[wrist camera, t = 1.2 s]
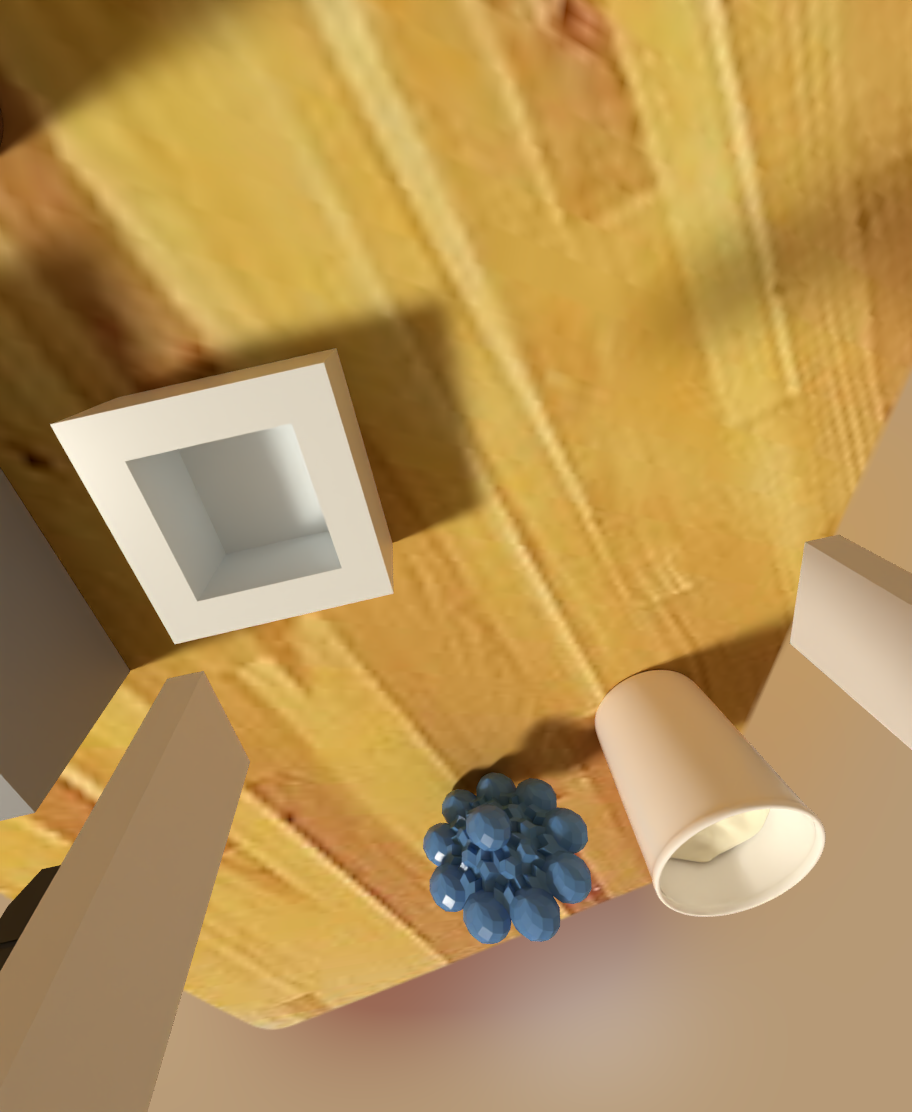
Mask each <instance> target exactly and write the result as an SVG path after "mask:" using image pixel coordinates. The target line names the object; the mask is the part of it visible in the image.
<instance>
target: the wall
mask: <svg viewBox="0 0 912 1112" xmlns="http://www.w3.org/2000/svg"><path fill="white" fill-rule="evenodd" d="M129 672H130V670H129V668H128V667H127V665H126V664H125V662H124V661H123V659H122V657H121V656H120V654H119V653H118V651H117V650H116V648H115V646H114V645H113V643H112V642H111V640H110V639H109V637H108V636H107V634H106V632H105V631H104V629H103V628H102V626H101V625H100V623H99V621H98V620H97V618H96V617H95V615H94V614H93V612H92V610H91V609H90V607H89V606H88V604H87V603H86V601H85V600H84V598H83V596H82V595H81V593H80V592H79V590H78V589H77V587H76V585H75V584H74V582H73V581H72V579H71V578H70V576H69V574H68V573H67V571H66V570H65V568H64V567H63V565H62V564H61V562H60V560H59V559H58V557H57V556H56V554H55V553H54V551H53V549H52V548H51V546H50V545H49V543H48V542H47V540H46V538H45V537H44V535H43V534H42V532H41V531H40V529H39V528H38V526H37V524H36V523H35V521H34V520H33V518H32V517H31V515H30V513H29V512H28V510H27V509H26V507H25V506H24V504H23V502H22V501H21V499H20V498H19V496H18V495H17V493H16V492H15V490H14V488H13V487H12V485H11V484H10V482H9V481H8V479H7V477H6V476H5V474H4V473H3V471H2V470H1V468H0V821H1V820H6V819H10V818H14V817H18V816H23V815H27V814H31V813H35V812H36V810H37V809H38V807H39V806H40V804H41V803H42V801H43V800H44V798H45V797H46V795H47V794H48V793H49V791H50V790H51V788H52V787H53V785H54V784H55V782H56V781H57V779H58V778H59V776H60V775H61V773H62V772H63V770H64V769H65V767H66V766H67V764H68V763H69V761H70V760H71V758H72V757H73V755H74V754H75V752H76V751H77V749H78V748H79V746H80V745H81V743H82V742H83V740H84V739H85V738H86V736H87V735H88V733H89V732H90V730H91V729H92V727H93V726H94V724H95V723H96V721H97V720H98V718H99V717H100V715H101V714H102V712H103V711H104V709H105V708H106V706H107V705H108V703H109V702H110V700H111V699H112V697H113V696H114V694H115V693H116V691H117V690H118V688H119V687H120V685H121V684H122V683H123V681H124V680H125V678H126V677H127V675H128V674H129Z"/></svg>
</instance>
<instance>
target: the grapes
mask: <svg viewBox="0 0 912 1112" xmlns="http://www.w3.org/2000/svg"><path fill="white" fill-rule="evenodd" d="M476 789H477V796H476V795H474V794H473V793H471V792H469V791H468V790H462V789H457V790H454V791H452V792H450V793H449V794H447V796H446V798H445V800H444V802H443V804H442V814H443V816H444V818H445V820H446V822H448V823H438V824H436V825H434V826H432V827H430V828H429V830H428V832H427V833H426V835H425V837H424V845H423V849H424V851H425V853H426V855H427V857H428V859H429V860H430V861H432V862H433V863H434V864H436V865H437V866H438V867H436V869H435V871H434V873H433V875H432V877H431V879H430V892H431V895H432V897H433V899H434V901H435V903H436V904H437V905H438V906H440V907H441V908H442V909H444V910H445V911H449V912H457V911H460V910H462V909H463V920H464V923H465V925H466V927H467V929H468V931H469V932H470V934H471V935H472V936H473V937H474V938H476V939H477V940H478V941H480V942H481V943H486V944H494V943H498V942H500V941H501V940H503V939H504V938H505V937H506V936H507V934H508V932H509V930H510V927H511V920H512V922H513V924H514V926H515V928H516V929H517V930H518V931H519V932H520V933H521V934H522V935H524V936H525V937H526V938H528V939H529V940H530V941H540V942H542V941H546V940H549V939H550V938H552V937H553V936H554V935H555V934H556V932H557V931H558V929H559V927H560V909H559V906H558V904H557V902H556V900H555V899H554V897H555V898H557V899H558V900H560V901H561V902H563V903H570V904H574V903H578V902H581V901H582V900H584V899H585V898H586V897H587V896H588V894H589V892H590V891H591V876H590V870H589V869H588V867H587V866H586V864H585V862H584V861H583V860H582V859H580V858H579V857H577V856H576V855H574V853H577V852H579V851H580V850H582V849H583V848H584V846H585V845H586V843H587V841H588V837H587V826H586V824H585V822H584V821H583V819H582V818H581V816H580V815H578V814H576V813H575V812H573V811H572V810H569V809H566V808H556V807H557V802H556V793H555V792H554V790H553V789H552V787H551V785H549V784H547V783H546V782H544V781H542V780H539V779H532V778H529V779H527V780H524V781H523V782H521V783H519V784H518V786H517V788H516V787H515V785H514V783H513V782H512V780H511V779H510V778H508V777H507V776H505V775H504V774H501V773H494V772H491V773H489V774H486V775H484V776H483V777H481V779H480V781H479V783H478V785H477V787H476ZM553 896H554V897H553Z"/></svg>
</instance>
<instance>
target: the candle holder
mask: <svg viewBox="0 0 912 1112" xmlns="http://www.w3.org/2000/svg"><path fill="white" fill-rule="evenodd" d="M595 730H596V734H597V737H598V740H599V743H600V745H601V748H602V751H603V753H604V756H605V759H606V761H607V764H608V767H609V769H610V772H611V774H612V777H613V780H614V782H615V785H616V787H617V790H618V792H619V795H620V798H621V800H622V803H623V805H624V808H625V810H626V813H627V816H628V818H629V821H630V823H631V826H632V829H633V831H634V834H635V836H636V839H637V841H638V844H639V847H640V849H641V852H642V854H643V857H644V859H645V862H646V865H647V867H648V870H649V873H650V875H651V878H652V881H653V886H654V889H655V891H656V894H657V895H658V897H659V899H660V900H661V901H662V902H663V903H664V904H665V905H666V906H668V907H669V908H670V909H672V910H675V911H676V912H679V913H682V914H686V915H691V916H700V917H711V916H721V915H728V914H732V913H737V912H741V911H744V910H748V909H751V908H753V907H756V906H759V905H761V904H763V903H766V902H768V901H770V900H772V899H774V898H776V897H777V896H779V895H781V894H782V893H784V892H786V891H787V890H789V889H790V888H791V887H793V886H794V885H795V884H797V883H798V882H799V881H800V880H802V879H803V878H804V877H805V876H806V875H807V874H808V873H809V872H810V871H811V869H812V868H813V867H814V866H815V864H816V863H817V861H818V860H819V858H820V856H821V854H822V852H823V849H824V846H825V830H824V827H823V824H822V822H821V821H820V819H819V818H818V817H817V815H816V814H815V813H814V812H813V811H812V810H810V809H809V808H808V807H807V806H806V805H805V804H804V803H803V802H802V801H801V800H800V799H799V797H798V796H797V795H796V794H795V793H794V792H793V791H792V790H791V789H790V788H789V786H788V785H787V784H786V783H785V782H784V781H783V780H782V779H781V777H780V776H779V775H778V774H777V773H776V772H775V771H774V770H773V769H772V768H771V766H770V765H769V764H768V763H767V762H766V761H765V760H764V758H763V757H762V756H761V755H760V754H759V753H758V752H757V751H756V750H755V749H754V747H753V746H752V745H751V744H750V743H749V742H748V741H747V740H746V738H745V737H744V736H743V735H742V734H741V733H740V732H739V731H738V729H737V728H736V727H735V726H734V725H733V724H732V723H731V722H730V721H729V719H728V718H727V717H726V716H725V715H724V714H723V713H722V712H721V711H720V709H719V708H718V707H717V706H716V705H715V704H714V703H713V702H712V701H711V699H710V698H709V697H708V696H707V695H706V694H705V693H704V692H703V691H702V690H701V689H700V688H699V687H698V686H697V685H696V684H695V683H694V682H693V681H692V680H691V679H690V678H688V677H687V676H685V675H683V674H681V673H678V672H675V671H670V670H652V671H646V672H642V673H639V674H636V675H634V676H631V677H629V678H627V679H625V680H624V681H622V682H621V683H619V684H618V685H616V686H615V687H614V688H613V689H612V690H610V691H609V692H608V694H607V695H606V696H605V697H604V698H603V700H602V701H601V703H600V705H599V707H598V709H597V712H596V716H595Z"/></svg>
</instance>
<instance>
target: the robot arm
mask: <svg viewBox="0 0 912 1112" xmlns="http://www.w3.org/2000/svg"><path fill="white" fill-rule="evenodd" d="M790 644H791V645H792V646H793V647H794V648H796V649H797V650H798V651H799V652H800V653H801V654H802V655H804V656H805V657H806V658H807V659H808V660H809V661H810V662H812V663H813V664H814V665H815V666H816V667H817V668H818V669H820V670H821V671H822V672H823V673H824V674H826V675H827V676H828V677H829V678H830V679H831V680H832V681H833V682H835V683H836V684H837V685H838V686H839V687H840V688H842V689H843V690H844V691H845V692H846V693H847V694H848V695H849V696H851V697H852V698H853V699H854V700H855V701H856V702H857V703H859V704H860V705H861V706H862V707H863V708H864V709H866V710H867V711H868V712H869V713H870V714H871V715H872V716H874V717H875V718H876V719H877V720H878V721H879V722H880V723H882V724H883V725H884V726H885V727H886V728H887V729H888V730H890V731H891V732H892V733H893V734H894V735H895V736H897V737H898V738H899V739H900V740H901V741H902V742H903V743H905V744H906V745H907V746H908V747H909V748H910V749H911V750H912V574H911V573H910V572H908V571H906V570H904V569H902V568H900V567H898V566H896V565H895V564H893V563H891V562H889V561H887V560H885V559H884V558H881V557H880V556H878V555H876V554H874V553H872V552H870V551H869V550H866V549H865V548H863V547H861V546H859V545H857V544H855V543H854V542H852V541H850V540H848V539H846V538H844V537H842V536H841V535H836V536H831V537H826V538H822V539H817V540H812V541H808V542H805V546H804V553H803V559H802V566H801V572H800V579H799V585H798V592H797V599H796V605H795V612H794V618H793V625H792V631H791V638H790ZM249 763H250V761H249V759H248V757H247V755H246V753H245V751H244V749H243V747H242V745H241V743H240V741H239V739H238V737H237V735H236V733H235V731H234V730H233V728H232V726H231V724H230V722H229V720H228V718H227V716H226V714H225V712H224V710H223V708H222V706H221V704H220V702H219V700H218V698H217V696H216V694H215V693H214V691H213V689H212V687H211V685H210V683H209V681H208V679H207V677H206V675H205V673H204V671H201V672H197V673H192V674H187V675H183V676H178V677H173V678H169V679H167V680H166V682H165V684H164V685H163V687H162V689H161V691H160V692H159V694H158V696H157V698H156V699H155V701H154V703H153V705H152V707H151V708H150V710H149V712H148V714H147V715H146V717H145V719H144V721H143V722H142V724H141V726H140V728H139V729H138V731H137V733H136V735H135V736H134V738H133V740H132V742H131V743H130V745H129V747H128V749H127V750H126V752H125V754H124V756H123V757H122V759H121V761H120V763H119V764H118V766H117V768H116V770H115V771H114V773H113V775H112V777H111V778H110V780H109V782H108V784H107V785H106V787H105V789H104V791H103V792H102V794H101V796H100V798H99V799H98V801H97V803H96V805H95V806H94V808H93V810H92V812H91V813H90V815H89V817H88V819H87V820H86V822H85V824H84V826H83V827H82V829H81V831H80V833H79V834H78V836H77V838H76V840H75V841H74V843H73V845H72V847H71V848H70V850H69V852H68V854H67V855H66V857H65V859H64V861H63V862H62V864H61V865H59V866H55V867H50V868H46V869H42V870H41V871H40V872H39V873H38V874H37V875H36V876H35V877H34V878H33V880H32V881H31V882H30V883H29V884H28V885H27V886H26V887H25V888H24V889H23V890H22V891H21V893H20V894H19V895H18V896H17V897H16V898H15V899H14V900H13V901H12V902H11V903H10V904H9V906H8V907H7V909H6V910H5V912H4V913H3V915H2V917H1V918H0V1112H147V1111H148V1107H149V1104H150V1101H151V1097H152V1094H153V1091H154V1087H155V1084H156V1080H157V1077H158V1074H159V1070H160V1067H161V1063H162V1060H163V1056H164V1053H165V1050H166V1046H167V1043H168V1039H169V1036H170V1033H171V1029H172V1026H173V1022H174V1019H175V1016H176V1012H177V1009H178V1005H179V1002H180V999H181V995H182V992H183V988H184V985H185V982H186V978H187V975H188V971H189V968H190V965H191V961H192V958H193V954H194V951H195V947H196V944H197V941H198V937H199V934H200V930H201V927H202V924H203V920H204V917H205V913H206V910H207V907H208V903H209V900H210V896H211V893H212V890H213V886H214V883H215V879H216V876H217V872H218V869H219V866H220V862H221V859H222V855H223V852H224V849H225V845H226V842H227V838H228V835H229V832H230V828H231V825H232V821H233V818H234V815H235V811H236V808H237V804H238V801H239V798H240V794H241V791H242V787H243V784H244V780H245V777H246V774H247V770H248V767H249Z"/></svg>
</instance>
